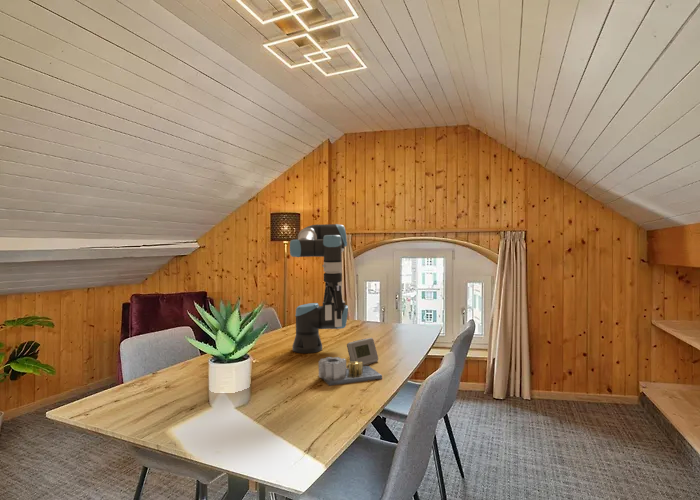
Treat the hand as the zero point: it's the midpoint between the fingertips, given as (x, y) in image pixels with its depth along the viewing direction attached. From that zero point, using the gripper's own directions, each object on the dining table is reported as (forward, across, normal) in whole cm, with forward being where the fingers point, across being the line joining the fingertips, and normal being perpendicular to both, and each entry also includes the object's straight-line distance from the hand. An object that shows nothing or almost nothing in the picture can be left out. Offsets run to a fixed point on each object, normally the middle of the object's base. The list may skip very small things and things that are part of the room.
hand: (333, 323), depth 177 cm
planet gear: (+19, +7, -3) cm, 21 cm away
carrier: (+21, +7, +5) cm, 23 cm away
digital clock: (+22, -8, +16) cm, 28 cm away
